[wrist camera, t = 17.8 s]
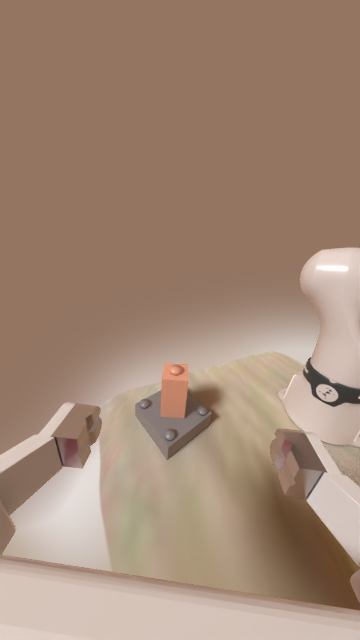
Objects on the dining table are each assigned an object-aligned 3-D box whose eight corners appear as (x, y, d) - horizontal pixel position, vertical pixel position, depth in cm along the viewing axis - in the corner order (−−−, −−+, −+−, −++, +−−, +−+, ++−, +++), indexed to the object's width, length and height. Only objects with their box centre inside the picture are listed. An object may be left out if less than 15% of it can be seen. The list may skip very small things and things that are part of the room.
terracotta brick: (162, 398, 44) (164, 359, 40) (184, 399, 44) (188, 361, 40) (160, 416, 39) (161, 375, 35) (184, 418, 39) (188, 377, 35)
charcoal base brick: (175, 393, 51) (177, 379, 49) (209, 426, 43) (212, 410, 41) (135, 416, 43) (135, 401, 42) (167, 461, 35) (168, 444, 33)
